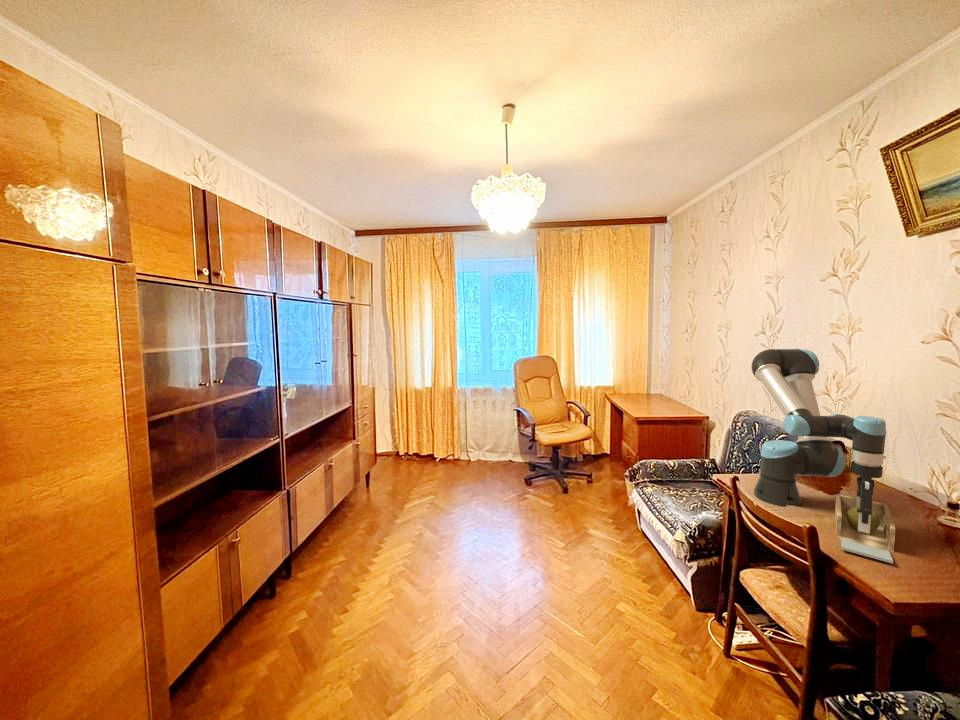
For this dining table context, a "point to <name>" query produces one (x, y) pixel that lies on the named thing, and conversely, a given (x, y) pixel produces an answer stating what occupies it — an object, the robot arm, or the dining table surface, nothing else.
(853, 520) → the apple
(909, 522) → the dining table surface
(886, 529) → the crate
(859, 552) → the pale blue panel
